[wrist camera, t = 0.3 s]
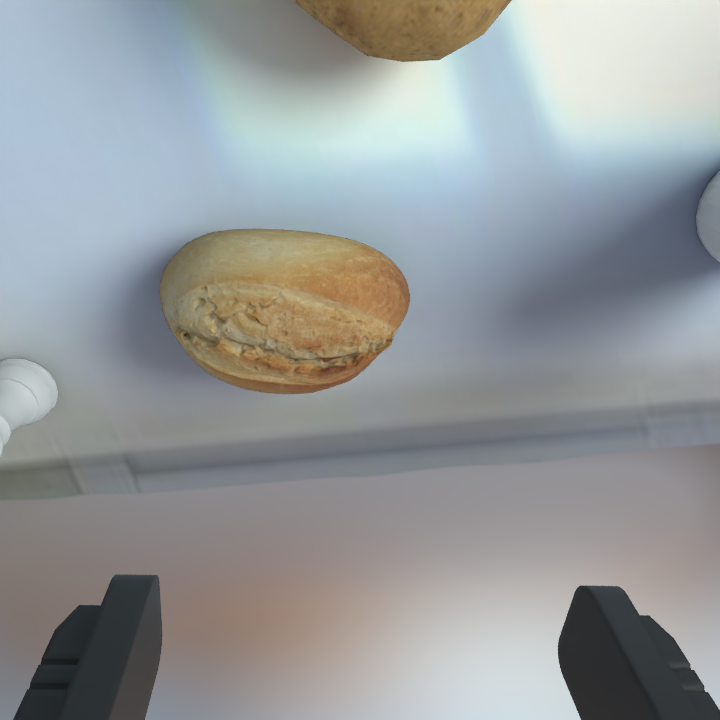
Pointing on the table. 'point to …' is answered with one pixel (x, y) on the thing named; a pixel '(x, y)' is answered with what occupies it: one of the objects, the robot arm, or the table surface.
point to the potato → (406, 24)
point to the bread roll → (282, 307)
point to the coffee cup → (710, 217)
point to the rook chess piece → (23, 395)
